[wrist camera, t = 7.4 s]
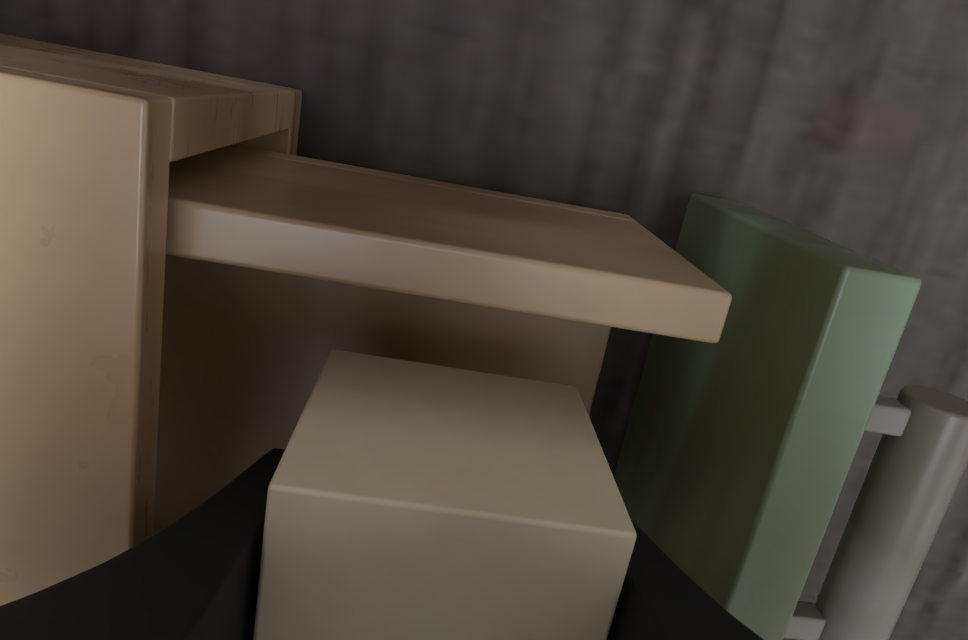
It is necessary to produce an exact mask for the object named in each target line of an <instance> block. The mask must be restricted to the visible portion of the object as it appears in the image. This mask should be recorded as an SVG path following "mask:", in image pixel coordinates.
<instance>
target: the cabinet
mask: <svg viewBox="0 0 968 640" xmlns="http://www.w3.org/2000/svg"><path fill="white" fill-rule="evenodd" d="M301 102H302V91H301V90H299V89H294V88H288V87H283V86H278V85H272V84H267V83H262V82H256V81H251V80H246V79H240V78H235V77H230V76H224V75H219V74H214V73H208V72H203V71H198V70H192V69H187V68H182V67H176V66H171V65H166V64H161V63H155V62H150V61H145V60H139V59H134V58H129V57H123V56H118V55H113V54H107V53H102V52H97V51H91V50H86V49H81V48H75V47H70V46H65V45H59V44H54V43H49V42H43V41H38V40H33V39H27V38H22V37H17V36H11V35H6V34H1V33H0V606H1V605H4V604H7V603H10V602H12V601H15V600H18V599H20V598H23V597H26V596H28V595H31V594H33V593H36V592H38V591H41V590H43V589H45V588H47V587H50V586H52V585H54V584H57V583H59V582H61V581H63V580H66V579H68V578H70V577H73V576H75V575H77V574H80V573H82V572H84V571H86V570H89V569H91V568H93V567H95V566H97V565H99V564H102V563H104V562H106V561H108V560H110V559H111V558H113V557H115V556H117V555H119V554H121V553H123V552H125V551H127V550H129V549H130V548H132V547H134V546H136V545H138V544H140V543H141V542H143V541H145V540H147V539H148V538H150V537H152V536H153V528H154V505H155V482H156V459H157V436H158V414H159V391H160V368H161V345H162V322H163V300H164V277H165V254H166V231H167V208H168V186H169V163H170V162H173V161H176V160H180V159H183V158H187V157H190V156H194V155H197V154H201V153H204V152H208V151H211V150H215V149H218V148H222V147H225V146H229V145H232V144H235V145H240V146H246V147H251V148H257V149H262V150H268V151H274V152H279V153H285V154H290V155H296V153H297V143H298V132H299V122H300V112H301Z"/></svg>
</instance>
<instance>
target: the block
mask: <svg viewBox="0 0 968 640" xmlns="http://www.w3.org/2000/svg"><path fill="white" fill-rule="evenodd" d="M636 537H637V535H636V531H635V529H634V526H633V524H632V522H631V519H630V517H629V514H628V512H627V509H626V507H625V504H624V502H623V499H622V497H621V494H620V492H619V489H618V487H617V485H616V482H615V480H614V477H613V475H612V472H611V470H610V467H609V465H608V462H607V460H606V457H605V455H604V452H603V450H602V447H601V445H600V443H599V440H598V438H597V435H596V433H595V430H594V428H593V425H592V423H591V420H590V418H589V415H588V413H587V410H586V408H585V406H584V403H583V401H582V398H581V396H580V393H579V391H578V388H577V387H575V386H569V385H562V384H556V383H549V382H543V381H536V380H530V379H523V378H516V377H510V376H503V375H497V374H490V373H484V372H477V371H471V370H464V369H458V368H451V367H445V366H438V365H432V364H425V363H419V362H412V361H406V360H399V359H393V358H386V357H380V356H373V355H367V354H360V353H353V352H347V351H340V350H331V351H330V352H329V355H328V357H327V359H326V361H325V363H324V366H323V368H322V370H321V372H320V374H319V377H318V379H317V381H316V383H315V385H314V388H313V390H312V392H311V394H310V396H309V399H308V401H307V403H306V405H305V407H304V410H303V412H302V414H301V416H300V418H299V421H298V423H297V425H296V427H295V429H294V432H293V434H292V436H291V438H290V440H289V443H288V445H287V447H286V449H285V451H284V454H283V456H282V458H281V460H280V462H279V465H278V467H277V469H276V471H275V473H274V476H273V478H272V480H271V482H270V484H269V487H268V494H267V504H266V514H265V524H264V534H263V544H262V554H261V564H260V573H259V583H258V593H257V603H256V613H255V623H254V633H253V640H607V636H608V633H609V630H610V626H611V623H612V619H613V616H614V613H615V609H616V606H617V602H618V599H619V595H620V592H621V589H622V585H623V582H624V578H625V575H626V572H627V568H628V565H629V561H630V558H631V555H632V551H633V548H634V544H635V541H636Z"/></svg>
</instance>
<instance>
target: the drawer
mask: <svg viewBox="0 0 968 640" xmlns="http://www.w3.org/2000/svg"><path fill="white" fill-rule="evenodd" d="M920 287H921V280H920V279H919V278H917V277H915V276H913V275H910V274H908V273H906V272H903V271H901V270H899V269H896V268H894V267H892V266H889V265H887V264H884V263H882V262H880V261H877V260H875V259H873V258H870V257H868V256H865V255H863V254H861V253H858V252H856V251H854V250H851V249H849V248H846V247H844V246H842V245H839V244H837V243H835V242H832V241H830V240H828V239H825V238H823V237H820V236H818V235H816V234H813V233H811V232H809V231H806V230H804V229H801V228H799V227H797V226H794V225H792V224H790V223H787V222H785V221H782V220H780V219H778V218H775V217H773V216H771V215H768V214H766V213H764V212H761V211H759V210H756V209H754V208H752V207H749V206H747V205H745V204H742V203H740V202H737V201H732V200H727V199H721V198H716V197H711V196H705V195H700V194H691V196H690V198H689V202H688V205H687V209H686V213H685V216H684V220H683V224H682V227H681V231H680V235H679V238H678V242H677V246H676V249H675V251H674V250H673V249H672V248H670V247H669V246H668V245H667V244H665V243H664V242H663V241H661V240H660V239H659V238H657V237H656V236H655V235H653V234H652V233H651V232H649V231H648V230H647V229H646V228H644V227H643V226H642V225H640V224H639V223H638V222H637V221H636V220H634V219H633V218H632V217H631V216H629V215H626V214H620V213H615V212H609V211H604V210H598V209H592V208H587V207H581V206H576V205H570V204H564V203H559V202H553V201H548V200H542V199H537V198H531V197H525V196H520V195H514V194H509V193H503V192H497V191H492V190H486V189H481V188H475V187H469V186H464V185H458V184H453V183H447V182H441V181H436V180H430V179H425V178H419V177H413V176H408V175H402V174H397V173H391V172H386V171H380V170H374V169H369V168H363V167H358V166H352V165H346V164H341V163H335V162H330V161H324V160H318V159H313V158H307V157H302V156H296V155H290V154H285V153H279V152H274V151H268V150H262V149H257V148H251V147H246V146H240V145H235V144H232V145H229V146H225V147H222V148H218V149H215V150H211V151H208V152H204V153H201V154H197V155H194V156H190V157H187V158H183V159H180V160H176V161H173V162H170V163H169V186H168V208H167V231H166V254H165V277H164V300H163V322H162V345H161V368H160V391H159V414H158V436H157V459H156V482H155V505H154V528H153V536H154V535H155V534H157V533H158V532H160V531H161V530H163V529H165V528H166V527H168V526H169V525H171V524H172V523H174V522H175V521H177V520H178V519H180V518H181V517H183V516H184V515H186V514H187V513H189V512H190V511H192V510H193V509H195V508H196V507H198V506H199V505H200V504H202V503H203V502H204V501H206V500H207V499H208V498H210V497H211V496H212V495H214V494H215V493H217V492H218V491H219V490H221V489H222V488H223V487H225V486H226V485H227V484H229V483H230V482H231V481H232V480H234V479H235V478H236V477H237V476H239V475H240V474H241V473H242V472H244V471H245V470H246V469H247V468H249V467H250V466H251V465H252V464H254V463H255V462H256V461H257V460H258V459H260V458H261V457H262V456H263V455H265V454H266V453H267V452H269V451H270V450H272V449H273V448H278V449H286V447H287V445H288V443H289V440H290V438H291V436H292V434H293V432H294V429H295V427H296V425H297V423H298V421H299V418H300V416H301V414H302V412H303V410H304V407H305V405H306V403H307V401H308V399H309V396H310V394H311V392H312V390H313V388H314V385H315V383H316V381H317V379H318V377H319V374H320V372H321V370H322V368H323V366H324V363H325V361H326V359H327V357H328V355H329V352H330V351H331V350H340V351H347V352H353V353H360V354H367V355H373V356H380V357H386V358H393V359H399V360H406V361H412V362H419V363H425V364H432V365H438V366H445V367H451V368H458V369H464V370H471V371H477V372H484V373H490V374H497V375H503V376H510V377H516V378H523V379H530V380H536V381H543V382H549V383H556V384H562V385H569V386H575V387H577V388H578V391H579V393H580V396H581V398H582V401H583V403H584V406H585V408H586V410H587V413H588V415H590V411H591V407H592V403H593V399H594V395H595V391H596V387H597V383H598V379H599V375H600V371H601V367H602V363H603V359H604V355H605V351H606V347H607V343H608V339H609V335H610V332H611V328H612V327H615V328H621V329H627V330H633V331H640V332H646V333H652V337H651V341H650V345H649V348H648V352H647V356H646V359H645V363H644V367H643V370H642V374H641V378H640V381H639V385H638V389H637V392H636V396H635V400H634V403H633V407H632V411H631V414H630V418H629V422H628V425H627V429H626V433H625V436H624V440H623V444H622V447H621V451H620V455H619V458H618V462H617V466H616V469H615V473H614V480H615V482H616V485H617V487H618V489H619V492H620V494H621V497H622V499H623V502H624V504H625V507H626V509H627V512H628V514H629V517H630V518H631V519H632V520H633V521H634V522H635V523H636V524H637V525H638V526H639V527H640V528H641V530H642V531H643V532H644V533H645V534H646V535H647V536H648V537H649V538H650V539H651V540H652V541H653V542H654V543H655V544H656V545H657V546H658V547H659V548H660V549H661V550H662V551H663V552H664V553H665V554H666V555H667V556H668V557H669V558H670V559H671V560H672V561H673V562H674V563H675V564H676V565H677V566H678V567H679V568H680V569H681V570H682V571H683V572H684V573H685V574H686V575H688V576H689V577H690V578H691V579H692V580H693V581H694V582H695V583H696V584H697V585H698V586H699V587H701V588H702V589H703V590H704V591H705V592H706V593H707V594H708V595H710V596H711V597H712V598H713V599H714V600H715V601H716V602H717V603H718V604H720V605H721V606H722V607H723V608H724V609H725V610H727V611H728V612H729V613H730V614H732V615H733V616H734V617H735V618H736V619H738V620H739V621H740V622H741V623H743V624H744V625H745V626H747V627H748V628H749V629H751V630H752V631H753V632H754V633H756V634H757V635H758V636H760V637H761V638H762V639H764V640H783V639H784V638H790V639H798V640H889V638H890V636H891V634H892V631H893V629H894V627H895V625H896V622H897V620H898V618H899V616H900V613H901V611H902V609H903V607H904V604H905V602H906V600H907V598H908V596H909V593H910V591H911V589H912V587H913V584H914V582H915V580H916V578H917V575H918V573H919V571H920V569H921V566H922V564H923V562H924V560H925V557H926V555H927V553H928V551H929V548H930V546H931V544H932V542H933V540H934V537H935V535H936V533H937V531H938V528H939V526H940V524H941V522H942V519H943V517H944V515H945V513H946V510H947V508H948V506H949V504H950V501H951V499H952V497H953V495H954V493H955V490H956V488H957V486H958V484H959V481H960V479H961V477H962V475H963V472H964V470H965V468H966V466H967V463H968V401H966V400H964V399H962V398H959V397H957V396H954V395H952V394H949V393H946V392H943V391H939V390H936V389H932V388H927V387H922V386H905V387H903V388H902V389H901V390H900V392H899V395H898V397H897V400H896V399H895V398H888V397H882V396H878V395H879V392H880V390H881V387H882V385H883V382H884V379H885V377H886V374H887V372H888V369H889V367H890V364H891V361H892V359H893V356H894V354H895V351H896V349H897V346H898V343H899V341H900V338H901V336H902V333H903V331H904V328H905V325H906V323H907V320H908V318H909V315H910V313H911V310H912V308H913V305H914V302H915V300H916V297H917V295H918V292H919V290H920ZM864 431H867V432H874V433H880V434H883V435H882V438H881V440H880V443H879V445H878V448H877V450H876V453H875V455H874V458H873V460H872V463H871V465H870V468H869V470H868V473H867V475H866V478H865V480H864V483H863V485H862V488H861V490H860V493H859V495H858V498H857V500H856V503H855V505H854V508H853V510H852V513H851V515H850V518H849V520H848V523H847V525H846V528H845V530H844V533H843V535H842V538H841V540H840V543H839V545H838V548H837V550H836V553H835V555H834V558H833V560H832V563H831V565H830V568H829V570H828V573H827V575H826V578H825V581H824V583H823V586H822V588H821V591H820V593H819V596H818V598H817V601H816V603H815V604H814V603H812V602H804V601H798V600H799V598H800V595H801V593H802V590H803V588H804V585H805V582H806V580H807V577H808V575H809V572H810V570H811V567H812V564H813V562H814V559H815V557H816V554H817V552H818V549H819V546H820V544H821V541H822V539H823V536H824V534H825V531H826V528H827V526H828V523H829V521H830V518H831V516H832V513H833V510H834V508H835V505H836V503H837V500H838V498H839V495H840V492H841V490H842V487H843V485H844V482H845V480H846V477H847V474H848V472H849V469H850V467H851V464H852V462H853V459H854V457H855V454H856V451H857V449H858V446H859V444H860V441H861V439H862V436H863V433H864Z"/></svg>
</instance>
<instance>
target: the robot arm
mask: <svg viewBox="0 0 968 640" xmlns="http://www.w3.org/2000/svg"><path fill="white" fill-rule="evenodd" d="M284 451H285V449H278V448H273V449H272V450H270V451H269V452H267V453H266V454H265V455H263V456H262V457H261V458H260V459H258V460H257V461H256V462H255V463H254V464H252V465H251V466H250V467H249V468H247V469H246V470H245V471H244V472H242V473H241V474H240V475H239V476H237V477H236V478H235V479H234V480H232V481H231V482H230V483H229V484H227V485H226V486H225V487H223V488H222V489H221V490H219V491H218V492H217V493H215V494H214V495H212V496H211V497H210V498H208V499H207V500H206V501H204V502H203V503H202V504H200V505H199V506H198V507H196V508H195V509H193V510H192V511H190V512H189V513H187V514H186V515H184V516H183V517H181V518H180V519H178V520H177V521H175V522H174V523H172V524H171V525H169V526H168V527H166V528H165V529H163V530H161V531H160V532H158V533H157V534H155V535H154V536H152V537H150V538H148V539H147V540H145V541H143V542H141V543H140V544H138V545H136V546H134V547H132V548H130V549H129V550H127V551H125V552H123V553H121V554H119V555H117V556H115V557H113V558H111V559H110V560H108V561H106V562H104V563H102V564H99V565H97V566H95V567H93V568H91V569H89V570H86V571H84V572H82V573H80V574H77V575H75V576H73V577H70V578H68V579H66V580H63V581H61V582H59V583H57V584H54V585H52V586H50V587H47V588H45V589H43V590H41V591H38V592H36V593H33V594H31V595H28V596H26V597H23V598H20V599H18V600H15V601H12V602H10V603H7V604H4V605H1V606H0V640H253V633H254V623H255V613H256V603H257V593H258V583H259V573H260V564H261V554H262V544H263V534H264V524H265V514H266V504H267V494H268V487H269V484H270V482H271V480H272V478H273V476H274V473H275V471H276V469H277V467H278V465H279V462H280V460H281V458H282V456H283V454H284ZM630 519H631V518H630ZM631 522H632V524H633V526H634V529H635V531H636V535H637V537H636V541H635V544H634V548H633V551H632V555H631V558H630V561H629V565H628V568H627V572H626V575H625V578H624V582H623V585H622V589H621V592H620V595H619V599H618V602H617V606H616V609H615V613H614V616H613V619H612V623H611V626H610V630H609V633H608V636H607V640H764V639H762V638H761V637H760V636H758V635H757V634H756V633H754V632H753V631H752V630H751V629H749V628H748V627H747V626H745V625H744V624H743V623H741V622H740V621H739V620H738V619H736V618H735V617H734V616H733V615H732V614H730V613H729V612H728V611H727V610H725V609H724V608H723V607H722V606H721V605H720V604H718V603H717V602H716V601H715V600H714V599H713V598H712V597H711V596H710V595H708V594H707V593H706V592H705V591H704V590H703V589H702V588H701V587H699V586H698V585H697V584H696V583H695V582H694V581H693V580H692V579H691V578H690V577H689V576H688V575H686V574H685V573H684V572H683V571H682V570H681V569H680V568H679V567H678V566H677V565H676V564H675V563H674V562H673V561H672V560H671V559H670V558H669V557H668V556H667V555H666V554H665V553H664V552H663V551H662V550H661V549H660V548H659V547H658V546H657V545H656V544H655V543H654V542H653V541H652V540H651V539H650V538H649V537H648V536H647V535H646V534H645V533H644V532H643V531H642V530H641V528H640V527H639V526H638V525H637V524H636V523H635V522H634V521H633V520H632V519H631Z"/></svg>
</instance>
